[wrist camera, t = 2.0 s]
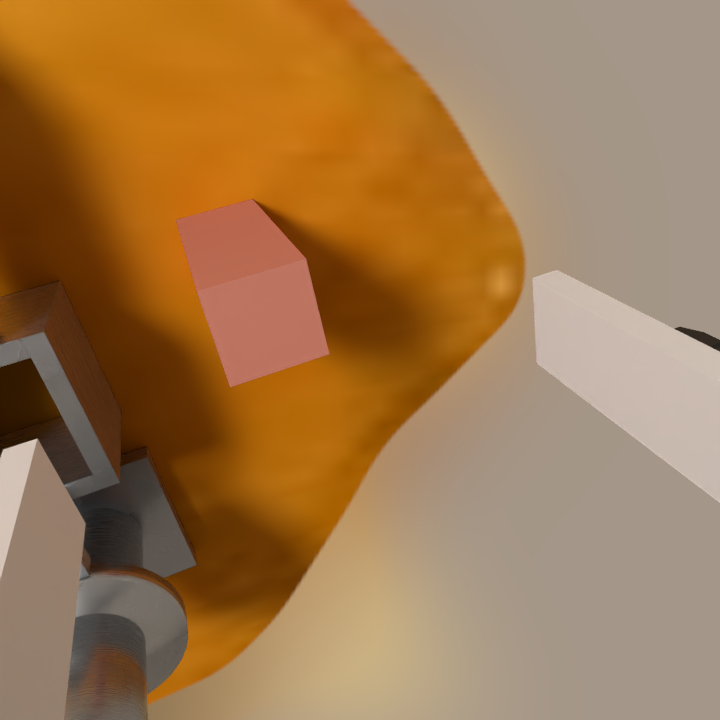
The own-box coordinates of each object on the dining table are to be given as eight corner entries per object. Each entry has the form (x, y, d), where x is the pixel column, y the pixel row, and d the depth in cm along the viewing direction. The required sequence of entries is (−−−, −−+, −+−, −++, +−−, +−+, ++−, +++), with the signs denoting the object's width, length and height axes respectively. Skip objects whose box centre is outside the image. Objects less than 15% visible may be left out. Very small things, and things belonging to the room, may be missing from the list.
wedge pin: (200, 292, 29) (230, 386, 21) (175, 219, 27) (197, 291, 19) (272, 270, 30) (329, 354, 21) (252, 199, 28) (306, 258, 20)
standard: (55, 607, 34) (-19, 1153, 17) (-40, 464, 29) (-280, 1043, 12) (195, 553, 36) (255, 1002, 19) (129, 409, 30) (129, 848, 13)
